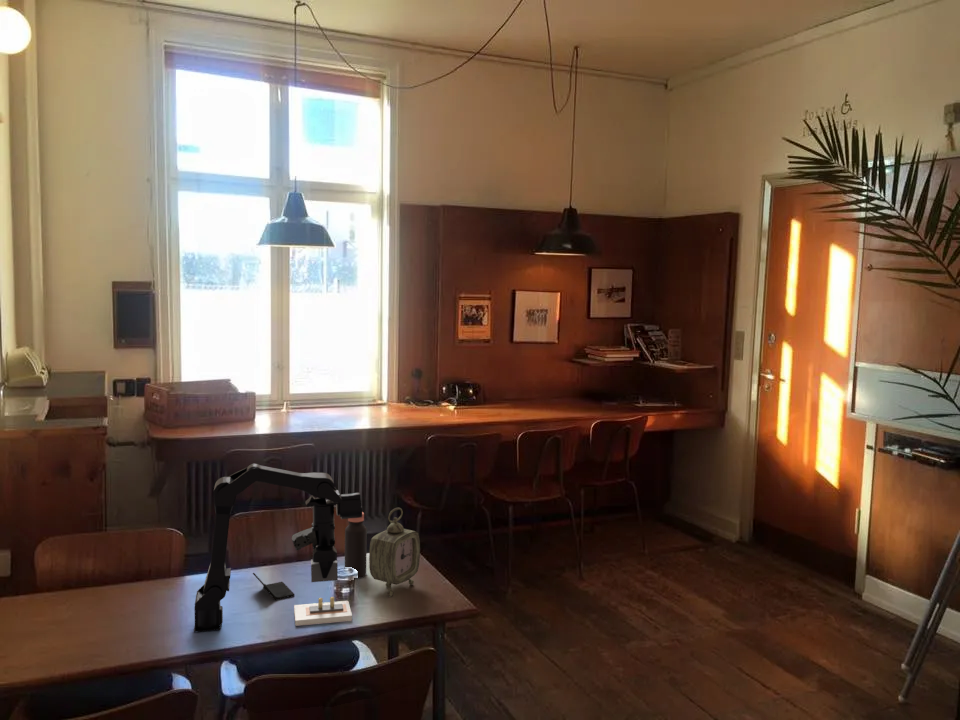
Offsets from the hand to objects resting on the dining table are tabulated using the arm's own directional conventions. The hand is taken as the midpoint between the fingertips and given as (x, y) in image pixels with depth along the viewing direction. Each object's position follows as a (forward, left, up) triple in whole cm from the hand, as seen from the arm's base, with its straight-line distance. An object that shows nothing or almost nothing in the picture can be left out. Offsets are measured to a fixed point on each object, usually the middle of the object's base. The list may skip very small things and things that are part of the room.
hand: (324, 575), depth 212 cm
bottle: (+12, +27, -12) cm, 32 cm away
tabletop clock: (+22, +14, -12) cm, 29 cm away
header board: (0, 0, -12) cm, 12 cm away
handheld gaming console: (-13, +18, -12) cm, 26 cm away
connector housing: (0, 0, -1) cm, 1 cm away
